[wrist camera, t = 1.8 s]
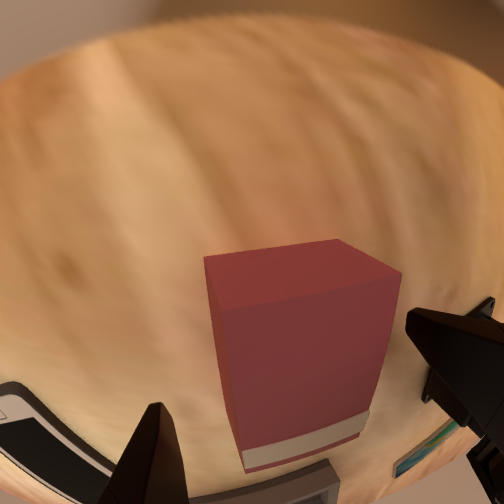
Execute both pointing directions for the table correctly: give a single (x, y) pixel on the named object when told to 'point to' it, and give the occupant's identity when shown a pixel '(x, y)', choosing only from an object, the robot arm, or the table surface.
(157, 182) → the table surface
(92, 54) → the table surface
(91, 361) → the table surface
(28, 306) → the table surface
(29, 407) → the cell phone
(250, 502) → the pocket tray
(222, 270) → the card box
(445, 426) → the smartphone
